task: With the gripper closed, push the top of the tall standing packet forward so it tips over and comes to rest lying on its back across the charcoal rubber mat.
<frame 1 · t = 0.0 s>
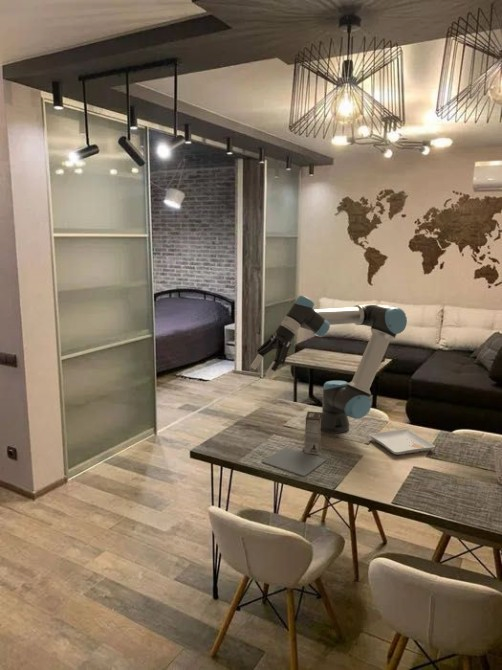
hand: (259, 372, 207), 36 cm above the table, tool tilted 35°, fingers open, 13 cm apart
coffee box: (312, 450, 219), on the table
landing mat: (294, 461, 207), on the table
salad plate: (400, 446, 225), on the table
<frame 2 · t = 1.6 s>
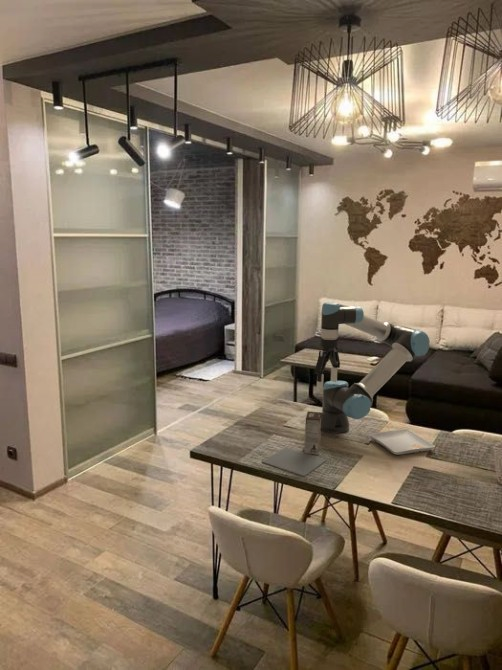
hand: (326, 385, 223), 27 cm above the table, tool pointing down, fingers open, 13 cm apart
nothing on the table moved.
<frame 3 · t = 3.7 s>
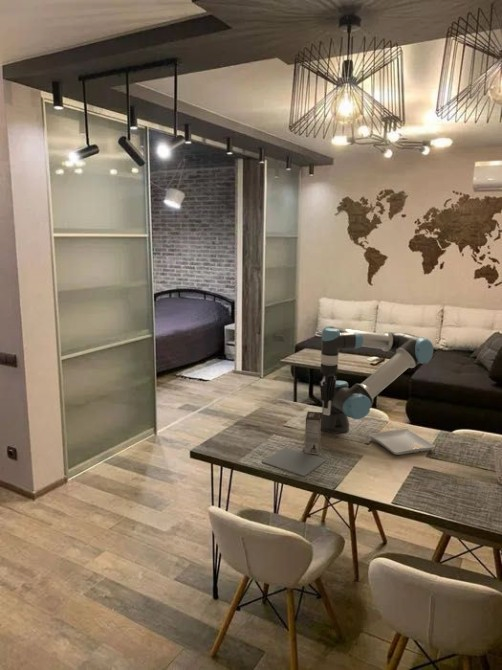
hand: (326, 414, 226), 13 cm above the table, tool pointing down, fingers closed
nothing on the table moved.
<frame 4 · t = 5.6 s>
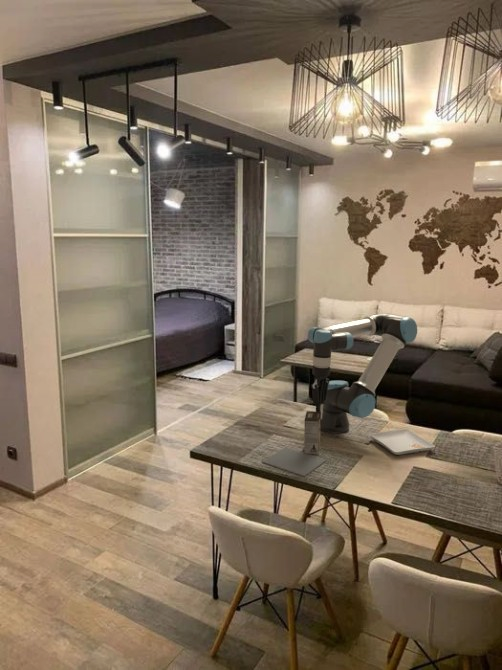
hand: (318, 417, 220), 13 cm above the table, tool pointing down, fingers closed
coffee box: (312, 449, 219), on the table, touching gripper
everything else where it was.
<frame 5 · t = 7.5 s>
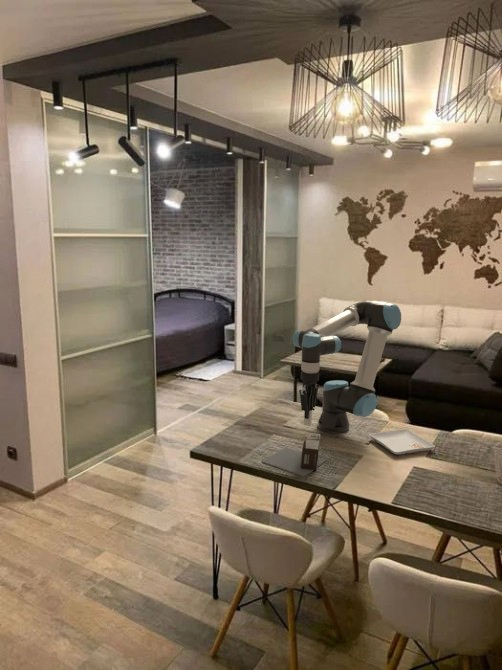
hand: (307, 425, 212), 13 cm above the table, tool pointing down, fingers closed
coffee box: (312, 443, 214), point 5 cm above the table, touching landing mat
everything else where it was.
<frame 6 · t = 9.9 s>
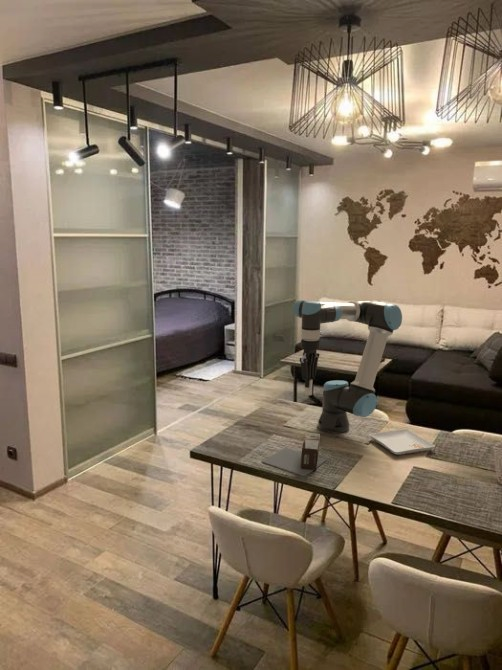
hand: (308, 394, 210), 27 cm above the table, tool pointing down, fingers closed
nothing on the table moved.
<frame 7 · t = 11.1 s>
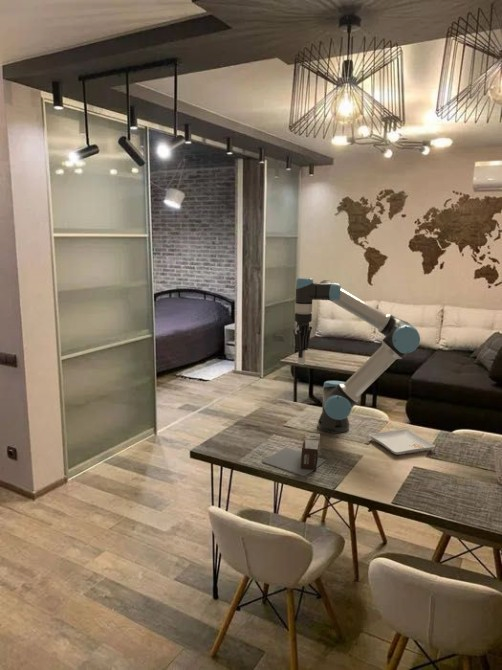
hand: (301, 364, 227), 34 cm above the table, tool pointing down, fingers closed
nothing on the table moved.
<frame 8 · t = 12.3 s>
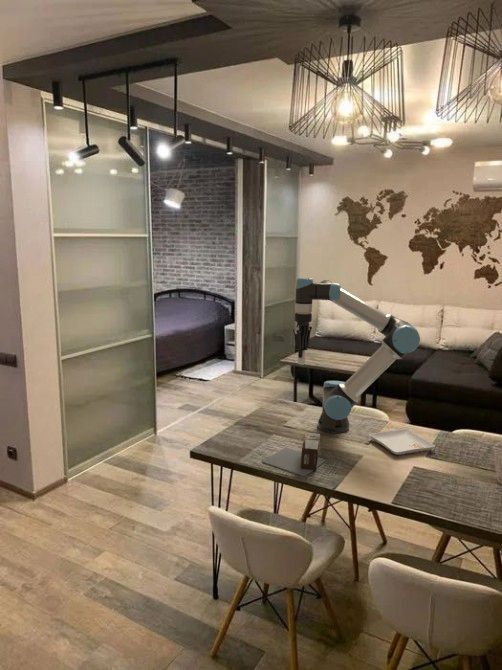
hand: (301, 364, 228), 34 cm above the table, tool pointing down, fingers closed
nothing on the table moved.
at the end: coffee box tilted 89°; coffee box touching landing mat; coffee box inside the target area (1.8 cm from its centre), point 4.9 cm above the table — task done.
